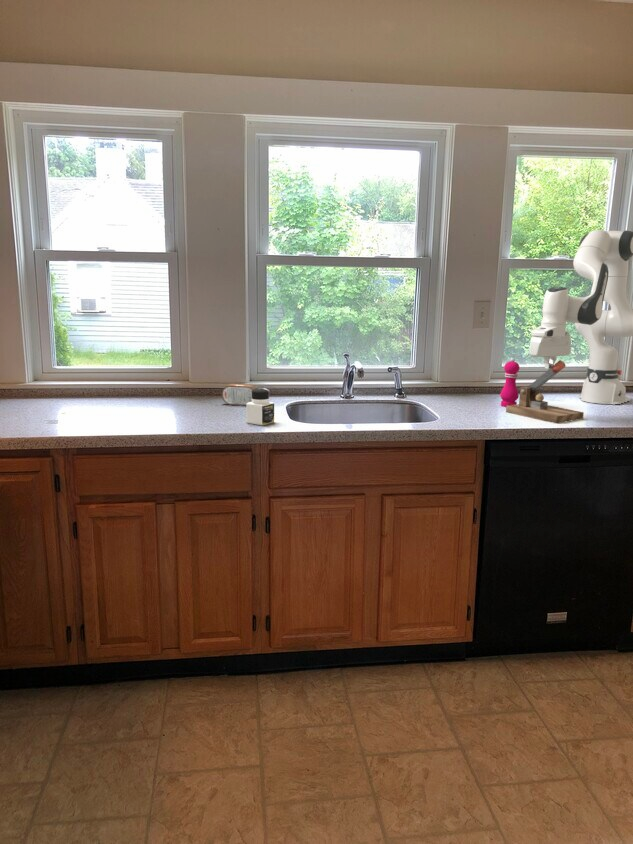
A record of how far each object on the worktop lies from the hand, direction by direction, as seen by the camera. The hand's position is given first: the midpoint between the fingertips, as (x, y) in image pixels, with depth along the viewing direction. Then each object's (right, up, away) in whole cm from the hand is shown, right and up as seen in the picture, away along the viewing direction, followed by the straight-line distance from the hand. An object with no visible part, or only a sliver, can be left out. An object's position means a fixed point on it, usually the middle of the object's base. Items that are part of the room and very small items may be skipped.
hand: (548, 368), depth 238 cm
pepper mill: (-8, -14, +22) cm, 28 cm away
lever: (-1, -6, +3) cm, 6 cm away
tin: (-118, -14, +15) cm, 120 cm away
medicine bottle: (-108, -21, -16) cm, 111 cm away
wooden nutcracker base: (0, -18, +5) cm, 18 cm away
